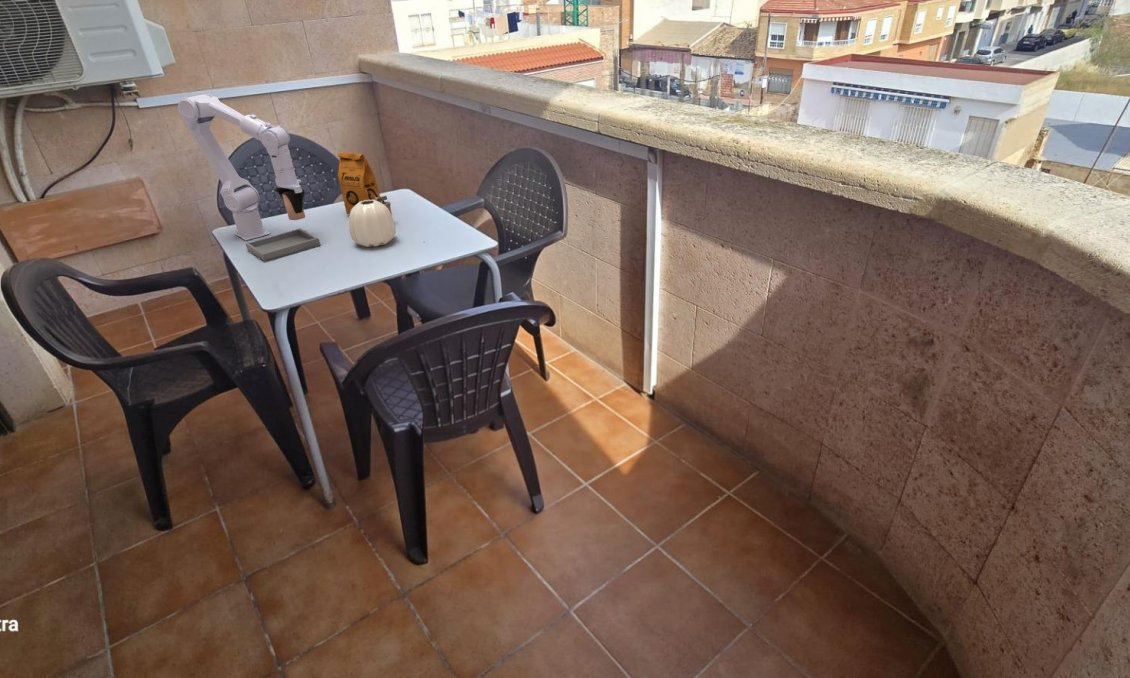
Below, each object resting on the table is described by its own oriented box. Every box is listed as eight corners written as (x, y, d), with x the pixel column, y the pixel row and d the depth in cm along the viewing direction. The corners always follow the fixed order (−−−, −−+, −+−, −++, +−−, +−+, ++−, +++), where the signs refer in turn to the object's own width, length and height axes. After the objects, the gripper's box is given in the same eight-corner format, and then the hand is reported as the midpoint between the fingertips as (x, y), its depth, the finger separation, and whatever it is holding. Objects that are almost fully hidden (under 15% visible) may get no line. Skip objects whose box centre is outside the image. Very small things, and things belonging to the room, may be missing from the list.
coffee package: (368, 221, 203) (355, 157, 192) (342, 216, 208) (328, 154, 197) (388, 212, 211) (376, 151, 199) (362, 208, 216) (350, 148, 205)
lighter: (377, 230, 195) (371, 201, 190) (370, 228, 197) (365, 199, 192) (396, 223, 201) (391, 195, 195) (390, 221, 202) (384, 193, 197)
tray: (247, 250, 182) (245, 243, 180) (302, 235, 192) (300, 228, 191) (264, 262, 174) (262, 254, 172) (320, 245, 184) (318, 238, 183)
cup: (286, 217, 186) (279, 193, 182) (301, 213, 189) (294, 189, 185) (293, 221, 183) (286, 196, 179) (308, 217, 186) (301, 192, 182)
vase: (385, 252, 178) (377, 210, 171) (344, 249, 181) (335, 208, 174) (404, 236, 190) (397, 196, 183) (366, 233, 192) (358, 194, 186)
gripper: (306, 169, 176) (317, 212, 183) (286, 161, 185) (297, 203, 192) (283, 174, 172) (295, 218, 179) (264, 166, 181) (276, 208, 188)
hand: (295, 210), depth 185 cm, fingers closed on cup, 5 cm apart
